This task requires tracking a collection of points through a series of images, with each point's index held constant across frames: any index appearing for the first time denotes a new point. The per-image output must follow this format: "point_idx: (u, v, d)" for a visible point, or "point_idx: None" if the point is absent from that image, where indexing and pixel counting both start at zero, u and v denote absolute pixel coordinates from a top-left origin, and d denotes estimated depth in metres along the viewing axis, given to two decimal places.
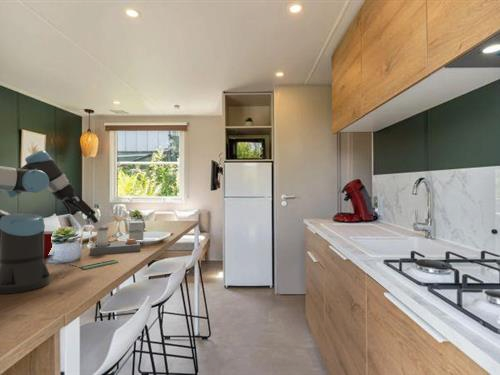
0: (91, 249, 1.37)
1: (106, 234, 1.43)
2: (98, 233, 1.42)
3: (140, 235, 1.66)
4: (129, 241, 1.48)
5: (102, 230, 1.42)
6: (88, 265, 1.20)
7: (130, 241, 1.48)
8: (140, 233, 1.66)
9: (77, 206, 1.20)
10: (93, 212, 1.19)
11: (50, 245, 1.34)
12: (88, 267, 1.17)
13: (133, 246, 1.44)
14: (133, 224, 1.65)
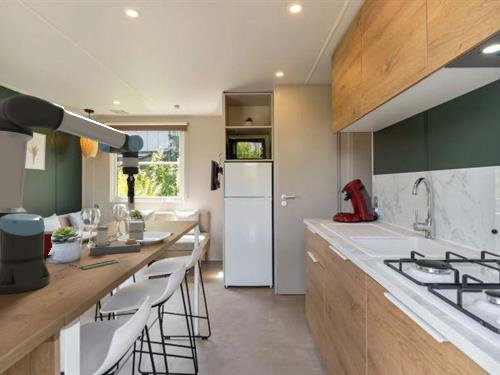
0: (91, 249, 1.37)
1: (106, 234, 1.43)
2: (98, 233, 1.42)
3: (140, 235, 1.66)
4: (129, 241, 1.48)
5: (102, 230, 1.42)
6: (88, 265, 1.20)
7: (130, 241, 1.48)
8: (140, 233, 1.66)
9: (129, 184, 1.44)
10: (133, 193, 1.40)
11: (50, 245, 1.34)
12: (88, 267, 1.17)
13: (133, 246, 1.44)
14: (133, 224, 1.65)
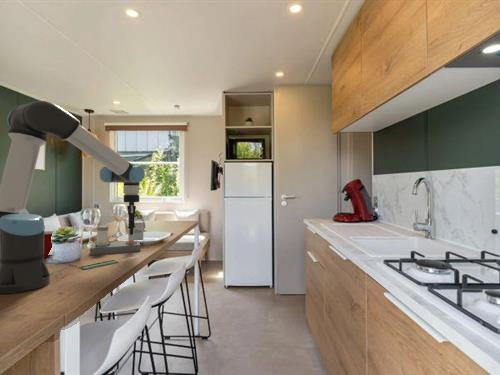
0: (91, 249, 1.37)
1: (106, 234, 1.43)
2: (98, 233, 1.42)
3: (140, 235, 1.66)
4: (129, 243, 1.48)
5: (102, 230, 1.42)
6: (88, 265, 1.20)
7: (130, 243, 1.48)
8: (140, 233, 1.66)
9: None
10: (133, 226, 1.46)
11: (50, 245, 1.34)
12: (88, 267, 1.17)
13: (133, 246, 1.44)
14: None
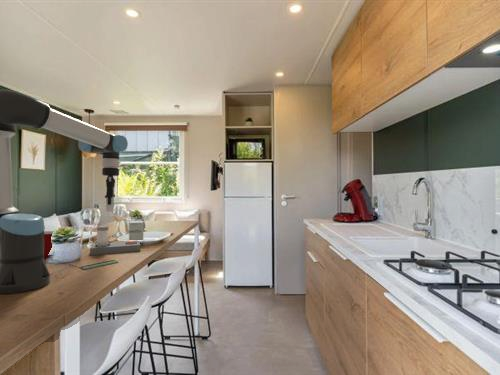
0: (91, 249, 1.37)
1: (106, 234, 1.43)
2: (98, 233, 1.42)
3: (140, 235, 1.66)
4: (129, 243, 1.48)
5: (102, 230, 1.42)
6: (88, 265, 1.20)
7: (130, 243, 1.48)
8: (140, 233, 1.66)
9: None
10: (110, 194, 1.36)
11: (50, 245, 1.34)
12: (88, 267, 1.17)
13: (133, 246, 1.44)
14: (133, 224, 1.65)
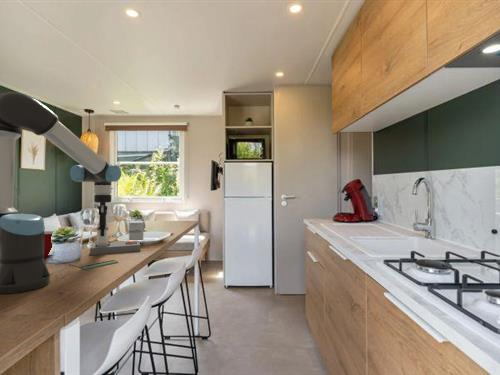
0: (91, 249, 1.37)
1: (106, 234, 1.43)
2: (98, 233, 1.42)
3: (140, 235, 1.66)
4: (129, 243, 1.48)
5: None
6: (88, 265, 1.20)
7: (130, 243, 1.48)
8: (140, 233, 1.66)
9: None
10: (103, 227, 1.39)
11: (50, 245, 1.34)
12: (88, 267, 1.17)
13: (133, 246, 1.44)
14: (133, 224, 1.65)
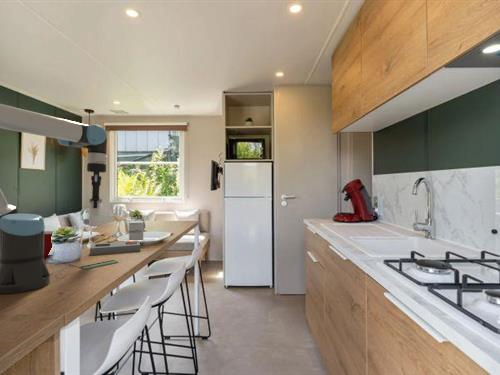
0: (91, 249, 1.37)
1: (99, 207, 1.31)
2: (90, 205, 1.29)
3: (140, 235, 1.66)
4: (129, 243, 1.48)
5: None
6: (88, 265, 1.20)
7: (130, 243, 1.48)
8: (140, 233, 1.66)
9: None
10: (97, 198, 1.26)
11: (50, 245, 1.34)
12: (88, 267, 1.17)
13: (133, 246, 1.44)
14: (133, 224, 1.65)
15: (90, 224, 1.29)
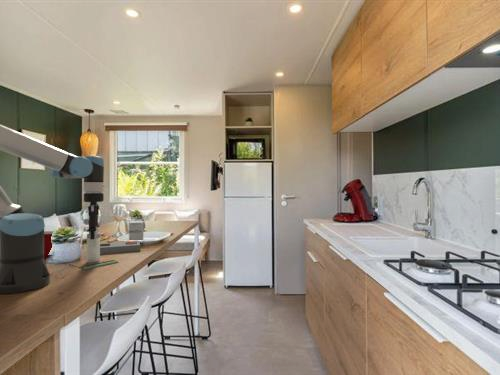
0: None
1: (97, 242, 1.25)
2: (88, 241, 1.24)
3: (140, 235, 1.66)
4: (129, 243, 1.48)
5: None
6: (88, 265, 1.20)
7: (130, 243, 1.48)
8: (140, 233, 1.66)
9: None
10: (93, 228, 1.18)
11: (50, 245, 1.34)
12: (88, 267, 1.17)
13: (133, 246, 1.44)
14: (133, 224, 1.65)
15: (88, 261, 1.24)
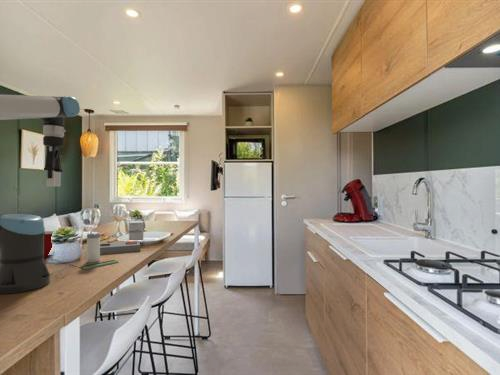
0: None
1: (97, 242, 1.25)
2: (88, 241, 1.24)
3: (140, 235, 1.66)
4: (129, 243, 1.48)
5: (92, 237, 1.23)
6: (88, 265, 1.20)
7: (130, 243, 1.48)
8: (140, 233, 1.66)
9: None
10: (50, 166, 1.17)
11: (50, 245, 1.34)
12: (88, 267, 1.17)
13: (133, 246, 1.44)
14: (133, 224, 1.65)
15: (88, 261, 1.24)
